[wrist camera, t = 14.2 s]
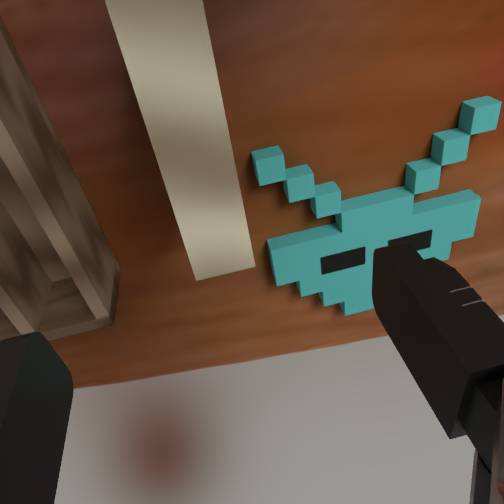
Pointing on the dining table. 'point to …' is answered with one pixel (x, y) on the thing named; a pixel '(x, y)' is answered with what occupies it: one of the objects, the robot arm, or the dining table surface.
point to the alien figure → (373, 216)
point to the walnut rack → (45, 223)
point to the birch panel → (186, 127)
